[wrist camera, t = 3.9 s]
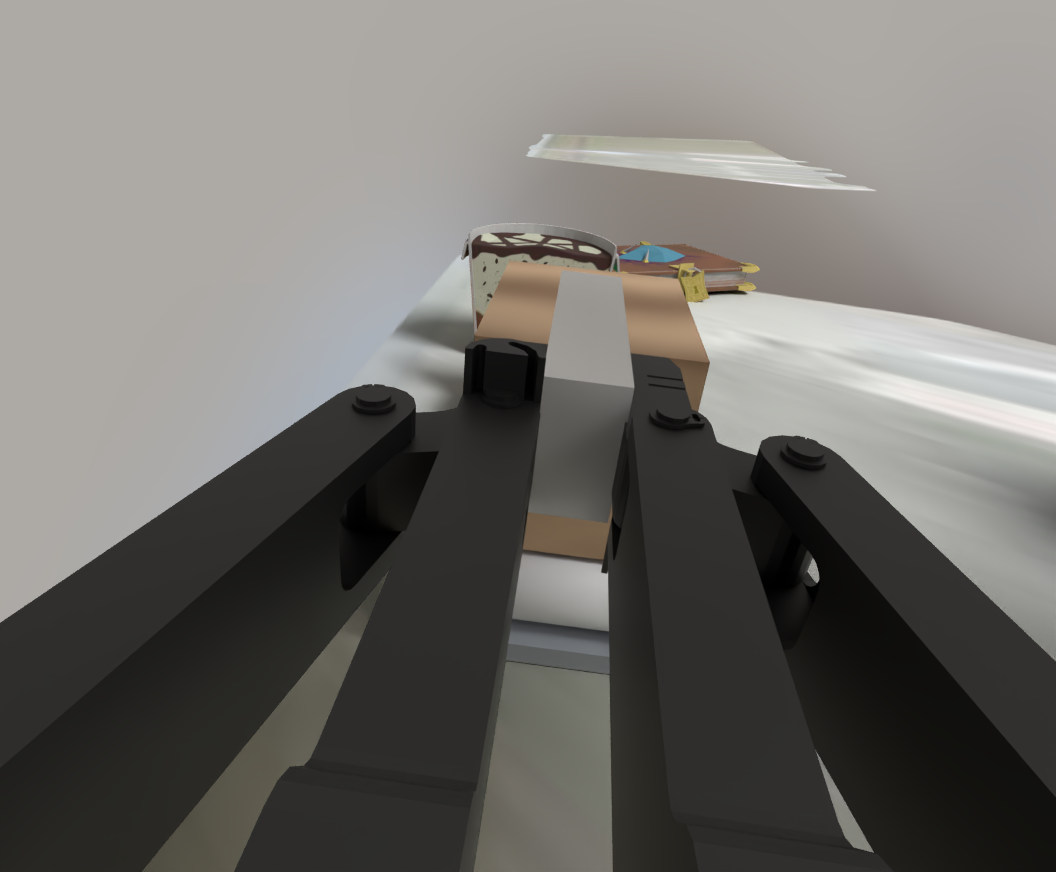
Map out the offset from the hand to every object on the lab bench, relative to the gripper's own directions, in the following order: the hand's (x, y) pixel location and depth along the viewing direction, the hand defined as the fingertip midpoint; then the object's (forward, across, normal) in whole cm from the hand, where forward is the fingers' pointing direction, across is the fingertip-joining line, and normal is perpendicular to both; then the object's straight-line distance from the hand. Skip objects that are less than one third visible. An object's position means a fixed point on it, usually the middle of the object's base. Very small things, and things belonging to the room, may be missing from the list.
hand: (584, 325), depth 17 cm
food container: (+37, -3, -16) cm, 40 cm away
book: (+61, +7, -16) cm, 63 cm away
